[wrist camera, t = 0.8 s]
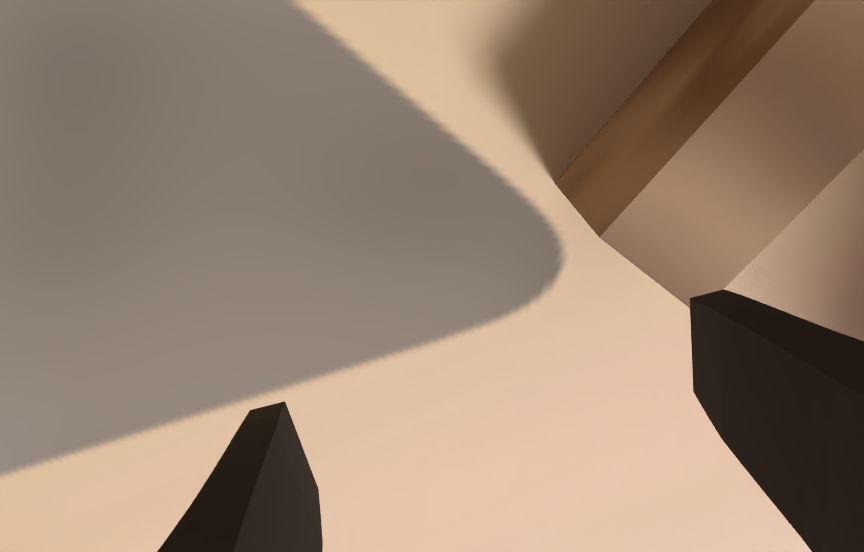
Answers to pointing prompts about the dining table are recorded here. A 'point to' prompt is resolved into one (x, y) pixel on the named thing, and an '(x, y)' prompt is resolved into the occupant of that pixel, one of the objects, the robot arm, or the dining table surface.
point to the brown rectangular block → (726, 139)
